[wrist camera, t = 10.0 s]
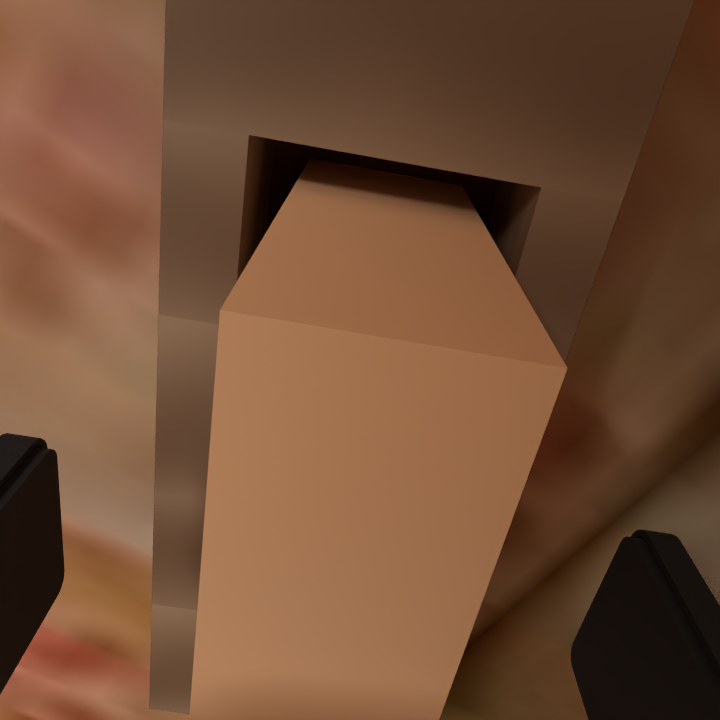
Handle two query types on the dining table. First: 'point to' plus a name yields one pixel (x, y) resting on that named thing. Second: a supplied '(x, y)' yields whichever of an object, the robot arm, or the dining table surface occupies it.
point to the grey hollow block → (385, 141)
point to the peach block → (362, 451)
